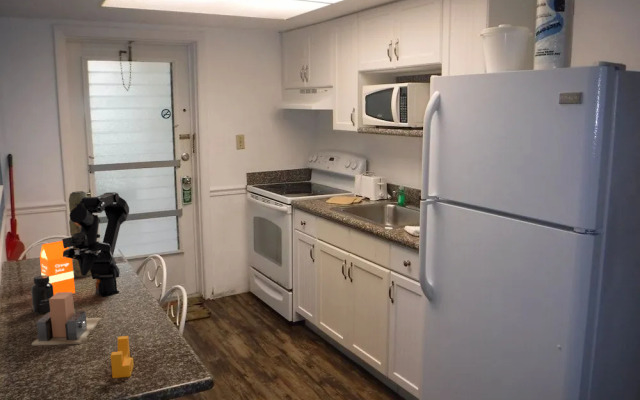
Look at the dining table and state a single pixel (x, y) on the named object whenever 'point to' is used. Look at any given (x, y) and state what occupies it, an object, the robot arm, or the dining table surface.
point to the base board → (62, 340)
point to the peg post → (61, 312)
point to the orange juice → (57, 267)
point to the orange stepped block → (122, 359)
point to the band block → (73, 326)
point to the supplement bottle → (41, 294)
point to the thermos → (76, 228)
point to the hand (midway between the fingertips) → (83, 275)
